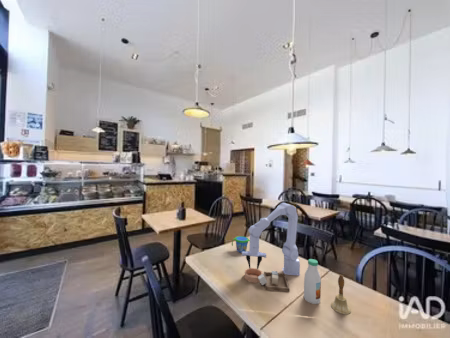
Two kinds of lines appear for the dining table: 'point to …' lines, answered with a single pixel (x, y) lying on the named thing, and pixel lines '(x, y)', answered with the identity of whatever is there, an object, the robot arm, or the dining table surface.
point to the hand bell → (340, 299)
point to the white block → (262, 279)
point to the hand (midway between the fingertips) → (253, 268)
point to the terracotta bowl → (252, 275)
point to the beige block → (275, 279)
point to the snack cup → (241, 243)
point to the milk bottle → (312, 283)
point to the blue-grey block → (274, 273)
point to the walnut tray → (281, 282)
